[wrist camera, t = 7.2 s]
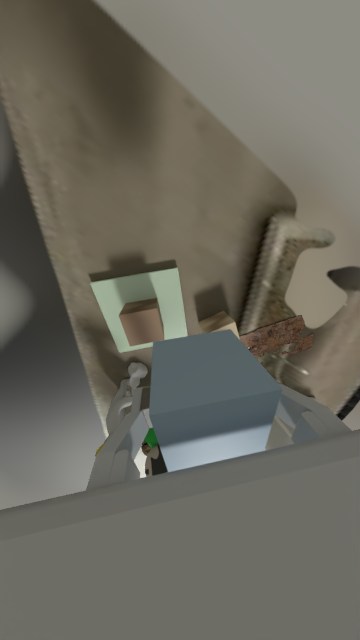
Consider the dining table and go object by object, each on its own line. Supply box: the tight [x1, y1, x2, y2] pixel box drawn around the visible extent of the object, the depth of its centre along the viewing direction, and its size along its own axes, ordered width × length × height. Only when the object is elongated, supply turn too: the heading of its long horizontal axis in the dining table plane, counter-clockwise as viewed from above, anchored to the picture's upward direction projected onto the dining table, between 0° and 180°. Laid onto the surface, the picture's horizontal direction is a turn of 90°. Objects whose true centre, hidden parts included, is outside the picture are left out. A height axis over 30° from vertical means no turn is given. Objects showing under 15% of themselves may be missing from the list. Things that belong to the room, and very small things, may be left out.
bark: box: [239, 315, 314, 366], centre depth 35 cm, size 22×12×1 cm, turn 113°
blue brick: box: [149, 329, 282, 472], centre depth 9 cm, size 6×6×5 cm
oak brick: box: [199, 311, 240, 340], centre depth 29 cm, size 6×6×5 cm
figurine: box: [95, 362, 148, 456], centre depth 28 cm, size 10×9×15 cm
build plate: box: [90, 267, 188, 353], centre depth 27 cm, size 14×14×1 cm
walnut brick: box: [119, 298, 164, 346], centre depth 25 cm, size 6×6×5 cm
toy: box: [144, 428, 168, 477], centre depth 34 cm, size 10×11×15 cm
